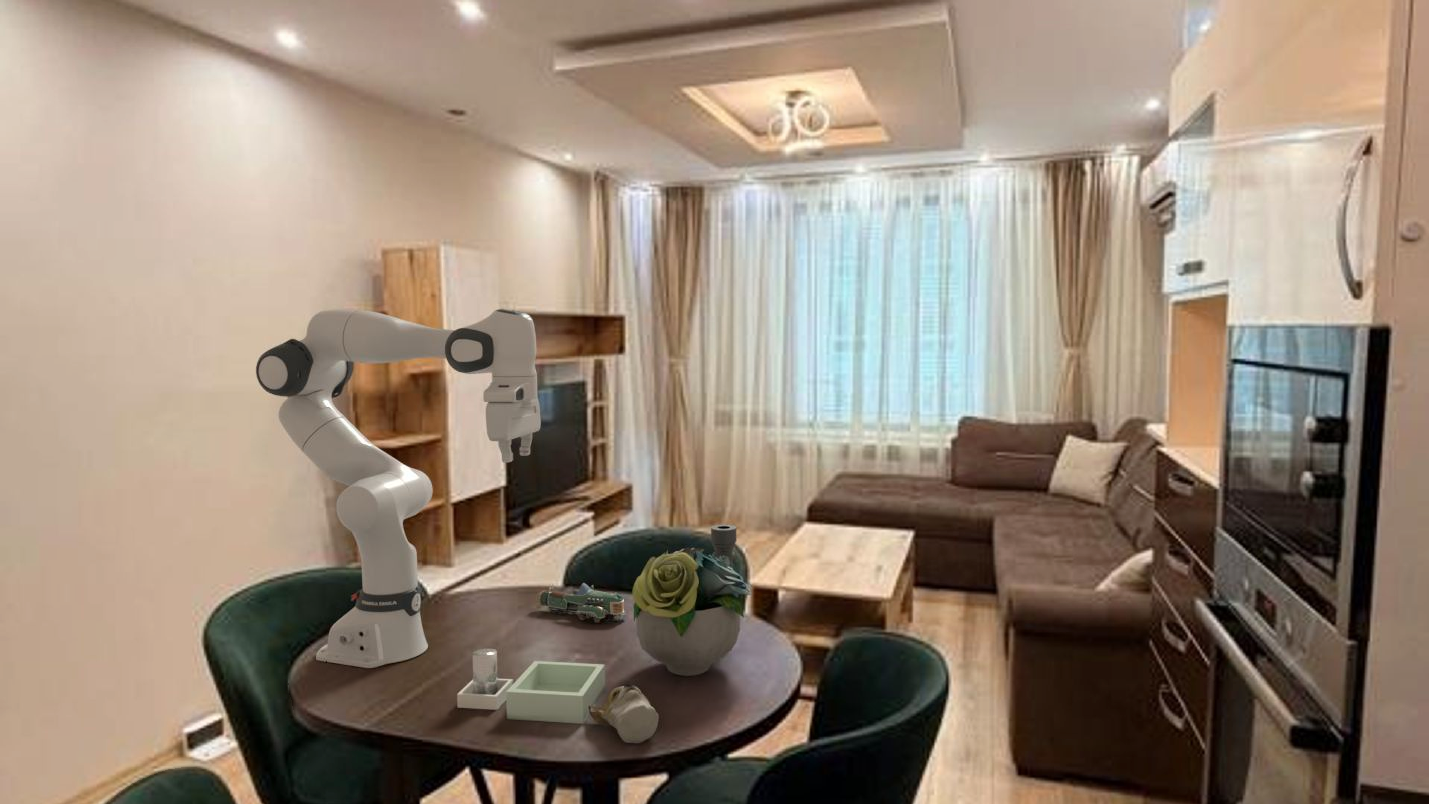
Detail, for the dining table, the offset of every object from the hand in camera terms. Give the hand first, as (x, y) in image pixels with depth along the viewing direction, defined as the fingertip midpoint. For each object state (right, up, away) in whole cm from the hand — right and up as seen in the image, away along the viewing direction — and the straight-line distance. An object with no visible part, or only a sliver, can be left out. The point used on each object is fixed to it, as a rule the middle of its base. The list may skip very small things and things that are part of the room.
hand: (516, 458), depth 165 cm
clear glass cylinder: (-3, -44, -13) cm, 46 cm away
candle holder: (+42, -42, +19) cm, 62 cm away
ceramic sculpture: (+25, -45, -25) cm, 57 cm away
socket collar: (-3, -44, -13) cm, 46 cm away
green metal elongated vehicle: (+7, -41, +34) cm, 54 cm away
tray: (+11, -44, -15) cm, 48 cm away
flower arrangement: (+35, -43, +1) cm, 55 cm away
